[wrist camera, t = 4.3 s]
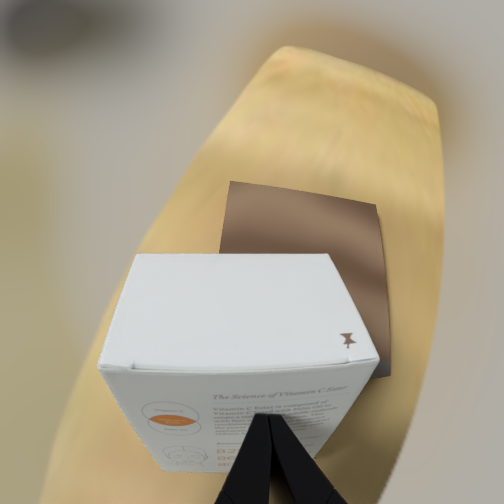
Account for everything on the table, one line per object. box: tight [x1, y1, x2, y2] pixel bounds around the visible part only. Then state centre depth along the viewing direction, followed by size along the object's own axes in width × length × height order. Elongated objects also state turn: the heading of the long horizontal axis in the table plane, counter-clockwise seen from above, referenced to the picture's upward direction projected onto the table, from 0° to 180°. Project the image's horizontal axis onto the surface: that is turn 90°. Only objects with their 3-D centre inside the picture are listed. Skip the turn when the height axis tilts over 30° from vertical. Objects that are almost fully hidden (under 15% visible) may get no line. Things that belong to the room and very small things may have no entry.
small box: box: [98, 253, 380, 473], centre depth 12 cm, size 8×6×10 cm
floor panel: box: [219, 181, 390, 378], centre depth 21 cm, size 14×12×2 cm
